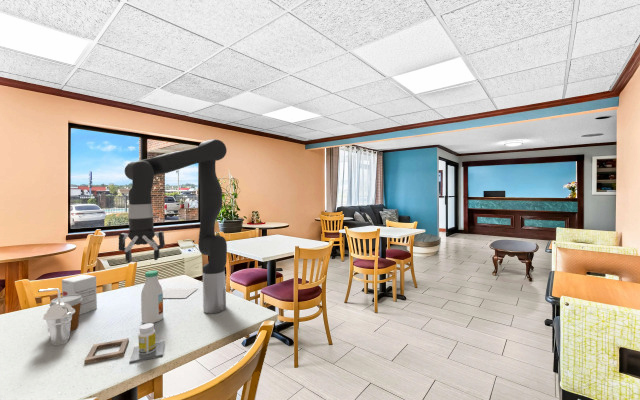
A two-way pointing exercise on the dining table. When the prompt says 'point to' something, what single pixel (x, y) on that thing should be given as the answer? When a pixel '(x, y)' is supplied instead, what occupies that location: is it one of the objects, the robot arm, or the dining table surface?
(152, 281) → the milk bottle
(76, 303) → the disposable coffee cup
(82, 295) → the supplement box
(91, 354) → the wooden square frame
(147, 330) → the supplement bottle
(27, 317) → the dining table surface
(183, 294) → the white flat square
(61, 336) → the cup with straw
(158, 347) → the coaster
